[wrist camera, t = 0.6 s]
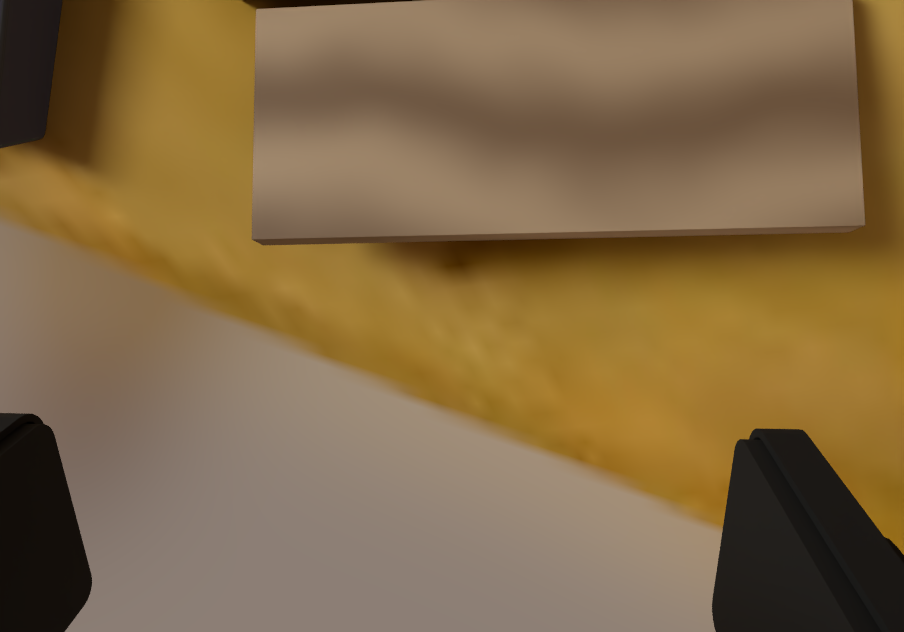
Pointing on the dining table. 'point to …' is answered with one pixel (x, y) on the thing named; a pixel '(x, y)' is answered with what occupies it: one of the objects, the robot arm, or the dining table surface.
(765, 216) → the plank
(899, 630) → the robot arm
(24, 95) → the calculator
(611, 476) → the dining table surface
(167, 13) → the dining table surface
